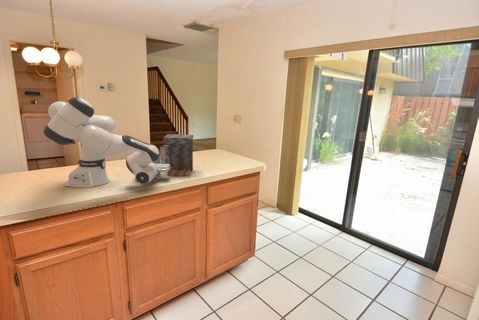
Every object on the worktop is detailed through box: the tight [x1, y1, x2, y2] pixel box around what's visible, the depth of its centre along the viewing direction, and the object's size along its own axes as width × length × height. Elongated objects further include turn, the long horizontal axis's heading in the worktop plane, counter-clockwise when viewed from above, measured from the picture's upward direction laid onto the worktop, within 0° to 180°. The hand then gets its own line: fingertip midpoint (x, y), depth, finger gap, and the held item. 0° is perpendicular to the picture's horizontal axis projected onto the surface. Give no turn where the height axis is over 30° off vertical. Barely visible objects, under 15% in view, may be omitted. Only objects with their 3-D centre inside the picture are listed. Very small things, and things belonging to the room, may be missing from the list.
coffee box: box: [159, 144, 169, 164], centre depth 184 cm, size 9×6×16 cm
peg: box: [152, 155, 162, 178], centre depth 161 cm, size 4×4×14 cm
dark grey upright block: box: [162, 133, 194, 177], centre depth 168 cm, size 17×16×26 cm
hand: (156, 164), depth 162 cm, fingers open, 5 cm apart
